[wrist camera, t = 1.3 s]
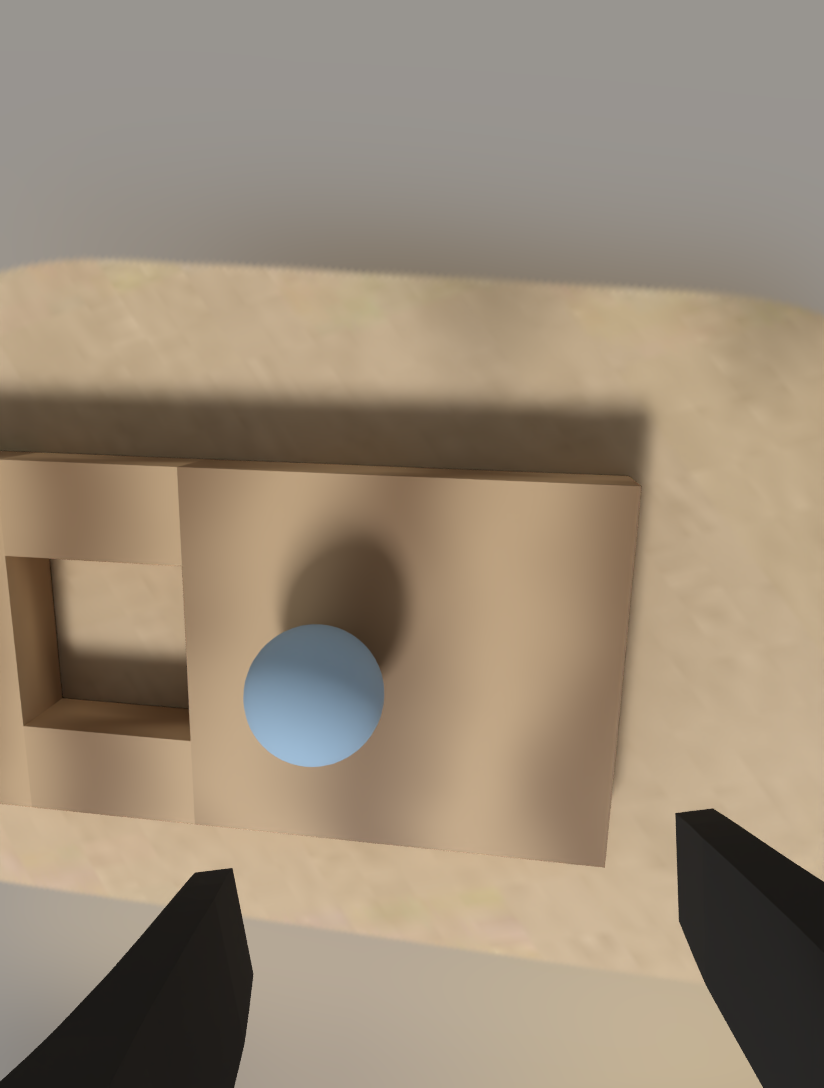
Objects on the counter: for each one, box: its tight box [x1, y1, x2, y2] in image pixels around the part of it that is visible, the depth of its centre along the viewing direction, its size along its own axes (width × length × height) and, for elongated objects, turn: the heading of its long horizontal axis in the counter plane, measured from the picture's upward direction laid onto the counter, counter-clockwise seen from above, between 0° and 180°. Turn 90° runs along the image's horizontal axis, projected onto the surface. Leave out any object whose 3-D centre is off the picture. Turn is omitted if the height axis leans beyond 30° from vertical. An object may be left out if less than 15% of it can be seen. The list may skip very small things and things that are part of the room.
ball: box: [243, 624, 384, 767], centre depth 19 cm, size 4×4×4 cm
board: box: [0, 451, 642, 867], centre depth 21 cm, size 22×11×4 cm, turn 88°
